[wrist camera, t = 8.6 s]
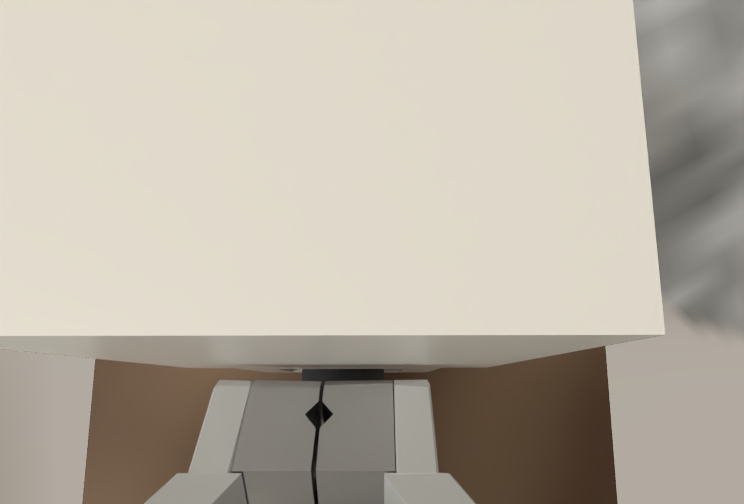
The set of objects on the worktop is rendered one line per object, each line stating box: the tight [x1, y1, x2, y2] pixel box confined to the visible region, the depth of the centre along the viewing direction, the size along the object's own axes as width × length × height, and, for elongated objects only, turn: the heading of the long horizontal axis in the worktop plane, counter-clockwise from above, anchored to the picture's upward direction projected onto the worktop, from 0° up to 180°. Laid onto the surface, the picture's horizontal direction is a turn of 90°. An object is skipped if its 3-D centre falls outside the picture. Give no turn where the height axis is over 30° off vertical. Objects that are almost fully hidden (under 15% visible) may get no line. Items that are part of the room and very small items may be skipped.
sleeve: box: [0, 0, 665, 373], centre depth 9 cm, size 5×4×10 cm
